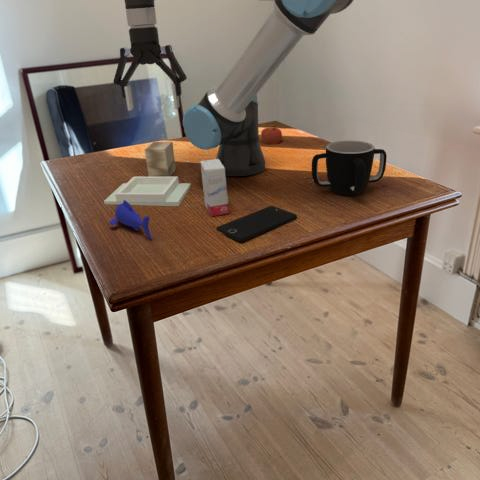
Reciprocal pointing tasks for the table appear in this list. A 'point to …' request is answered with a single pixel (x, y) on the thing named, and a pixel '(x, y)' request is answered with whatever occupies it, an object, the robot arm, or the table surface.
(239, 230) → the cell phone
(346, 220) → the table surface
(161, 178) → the chassis bay
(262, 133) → the apple
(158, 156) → the tan wooden block
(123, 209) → the fish toy
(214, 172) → the ink box
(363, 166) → the mug
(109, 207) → the table surface
